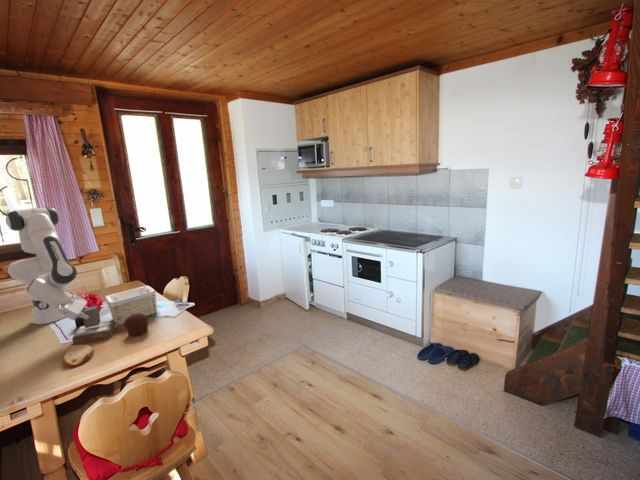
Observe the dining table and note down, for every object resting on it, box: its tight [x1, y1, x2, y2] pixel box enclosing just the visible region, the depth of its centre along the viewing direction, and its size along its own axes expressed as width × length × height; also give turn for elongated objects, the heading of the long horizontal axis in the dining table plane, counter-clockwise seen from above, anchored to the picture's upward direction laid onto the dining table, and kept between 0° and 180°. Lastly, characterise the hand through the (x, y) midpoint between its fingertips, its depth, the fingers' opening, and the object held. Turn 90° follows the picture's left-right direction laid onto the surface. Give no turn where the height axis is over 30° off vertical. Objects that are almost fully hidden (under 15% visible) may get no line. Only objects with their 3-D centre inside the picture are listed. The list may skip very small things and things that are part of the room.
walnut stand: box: [71, 319, 116, 346], centre depth 176 cm, size 14×16×5 cm
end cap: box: [74, 316, 85, 329], centre depth 190 cm, size 10×7×7 cm
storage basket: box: [105, 285, 158, 326], centre depth 198 cm, size 24×16×15 cm
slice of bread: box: [62, 344, 95, 369], centre depth 156 cm, size 18×18×4 cm
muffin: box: [123, 313, 150, 338], centre depth 176 cm, size 12×11×10 cm
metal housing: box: [81, 305, 102, 328], centre depth 174 cm, size 5×6×9 cm
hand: (90, 315), depth 174 cm, fingers closed on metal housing, 5 cm apart
